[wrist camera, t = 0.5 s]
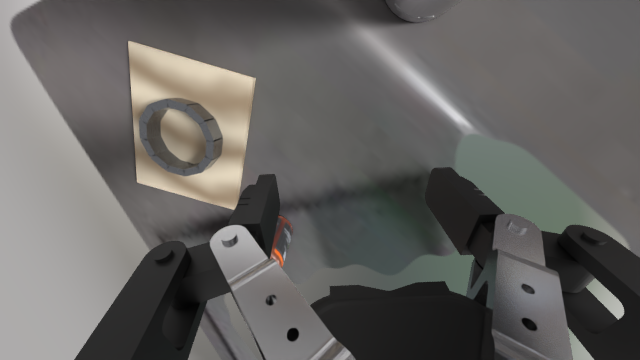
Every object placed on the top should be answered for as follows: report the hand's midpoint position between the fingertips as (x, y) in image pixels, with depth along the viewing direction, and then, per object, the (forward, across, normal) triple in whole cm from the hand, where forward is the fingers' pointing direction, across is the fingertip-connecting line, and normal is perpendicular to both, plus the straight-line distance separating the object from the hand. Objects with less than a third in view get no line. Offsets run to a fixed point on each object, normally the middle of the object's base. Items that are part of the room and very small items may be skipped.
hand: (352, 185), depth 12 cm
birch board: (+22, +20, +5) cm, 30 cm away
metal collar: (+22, +20, +5) cm, 30 cm away
